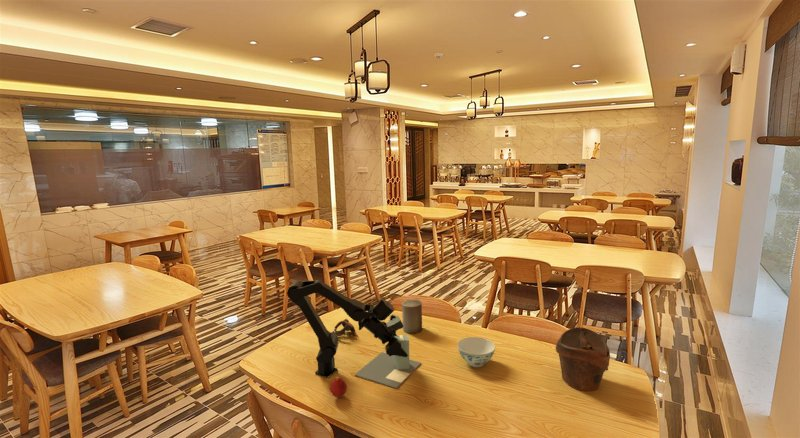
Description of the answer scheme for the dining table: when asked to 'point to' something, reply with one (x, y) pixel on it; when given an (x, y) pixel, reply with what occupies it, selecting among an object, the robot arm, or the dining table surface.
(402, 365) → the block
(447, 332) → the dining table surface
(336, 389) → the pomegranate
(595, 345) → the brown flower pot
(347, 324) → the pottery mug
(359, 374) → the mat
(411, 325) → the pillar candle
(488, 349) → the chinaware
